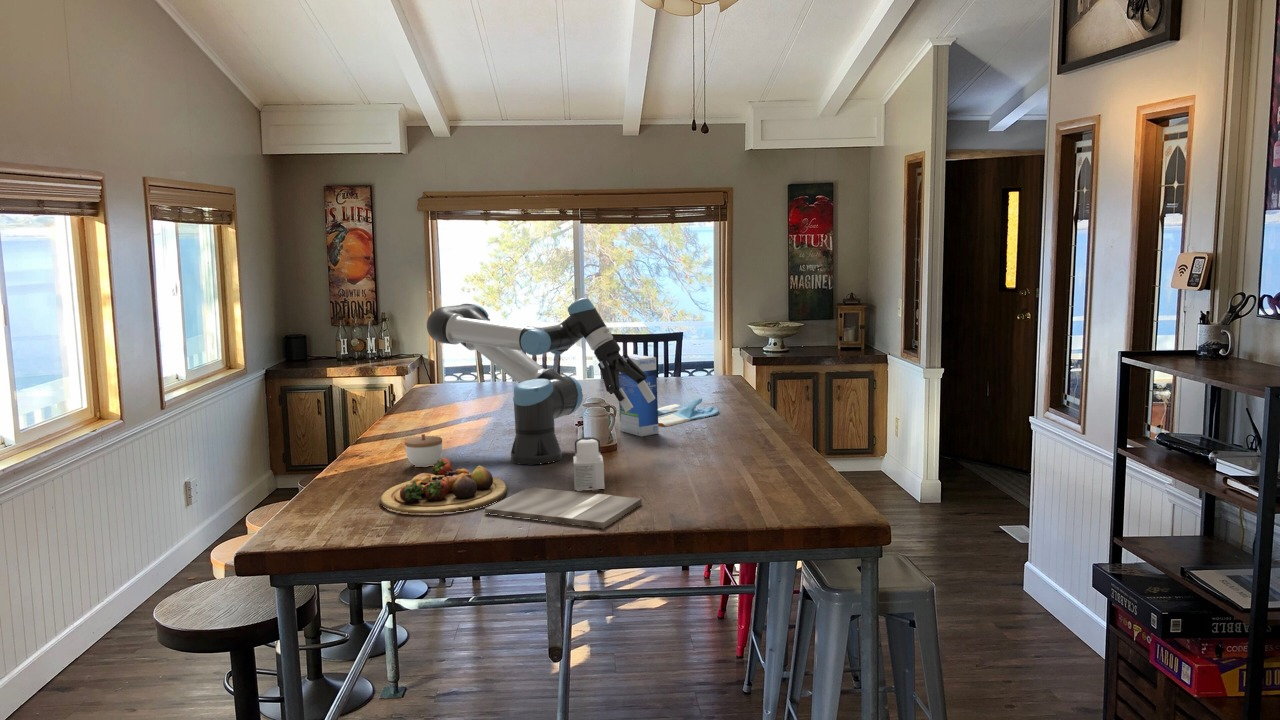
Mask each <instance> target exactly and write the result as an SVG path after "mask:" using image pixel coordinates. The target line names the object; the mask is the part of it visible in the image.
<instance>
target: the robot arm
mask: <svg viewBox="0 0 1280 720" xmlns="http://www.w3.org/2000/svg"><path fill="white" fill-rule="evenodd" d="M567 312H568V314H569V316H568V317H567V318H566V319H565V320H564V321H562V322H561V323H559V324H555V325H550V326H543V327H537V326H530V325H521V324H515V323H514V324H513V323H506V322H499V321H492V320H491V319H490V318H489V313H488V312H487V311H486V310H485V309H484V308H483V307H482V306H481V305H479V304H475V303H463V304H459V305H458V304H457V305H450V306H449V305H447V306H441V307H437V308H436V309H434V310H433V311H432V312H431V313H430V314H429V316H428V317H427V319H426V330H427V333H428V335H429V336H430V338H432V340H433V341H435V342H437V343H439V344H448V345H459V344H460V345H462V346H464V347H465V348H466V349H467V350H469V351H477V352H478V353H480V354H481V355H482V356H484V357H485V358H487V360H489V361H490V362H491V363H492V364H493V365H495V366H496V367H498V368H499V369H500V370H501V371H502V372H504V373H506V375H508V376H509V377H510V378H511V379H513V380H514V381H515V382H517V383H518V384H516V385H515V387H514V388H513V397H512V400H513V409H514V410H513V411H514V428H515V434H514V435H515V436H514V440H513V443H512V447H511V450H510V461H511V462H512V461H513V462H515V463H514V464H516V463H520V464H519V465H522V464H540V463H548V462H552V463H554V462H553V461H556V462H558V461H560V460H562V457H563V456H562V454H563V453H562V449H561V447H560V443H559V440H558V438H557V435H556V431H555V419H559V418H561V417H566V416H569V415H571V414H573V413H575V412H576V411H577V410H578V409H579V408H580V407H581V405H582V403H583V397H584V395H583V389H582V385H581V384H580V382H579V381H578V380H577V379H576V378H574V377H572V376H568V375H565V376H562V375H561V374H560V373H559V372H557V370H555V369H554V368H552V367H551V368H544V367H543V366H542V365H540V364H539V363H538V362H537V361H535V360H534V359H533V358H531V357H530V356H541V355H543V354H548V353H551V354H552V355H553V354H554V355H556V356H560V355H562V354H563V353H564V352H566V351H567V352H568V350H569V349H570V348H572V346H574V345H575V344H576V343H577V342H579V341H580V340H581V339H582V338H584V339H585V342H586V343H587V344H588V346H589V348H590V350H591V351H593V354H594V355H595V358H596V359H597V360H598V363H597V366H598V368H599V370H600V372H601V375H602V379H603V382H604V383H603V384H604V386H605V390H606V392H607V393H609V394H610V395H613V394H614V396H615V398H616V399H617V401H618V403H619V402H620V404H621V405H622V407H623V409H624V410H625V412H627V411H629V410H630V409H631V408H633V405H632V404H631V402H630V401H629V399H628V397H627V396H626V394H625V393H624V391H623V389H622V388H620V389H619V379H618V372H621V373H624V374H626V375H627V376H629V377H630V378H631V379H633V380H634V381H635V382H637V383H638V385H637V386H638V388H639V389H640V391H641V392H642V394H643V396H644V397H645V399H646V400H647V402H648V403H650V402H651V401H653V400H654V399H655V396H654V395H653V393H652V392H651V390H650V388H649V387H648V385H647V384H646V382H645V379H647V375H646V374H645V373H644V372H643V371H642V370H641V369H640V368H639V367H638V366H637V365H636V364H635V363H634V362H633V361H632V360H631V359H630V358H629V357H628V355H629V354H628V353H624V354H623V355H621V354H620V351H621V347H620V346H619V343H618V342H617V341H616V339H614V336H613V334H612V332H611V331H610V329H609V328H608V327H607V325H606V324H605V321H604V320H603V318H602V317H601V315H600V314H599V311H598V310H597V307H595V305H594V304H593V303H592V301H591V300H590V298H589V297H581V298H579V299H577V300H575V301H573V302H572V303H570V305H569V306H568V307H567ZM529 355H530V356H529ZM559 459H560V460H559ZM557 460H558V461H557ZM513 462H512V463H513ZM548 464H549V463H548ZM540 465H541V464H540Z"/></svg>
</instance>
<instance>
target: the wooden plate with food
mask: <svg viewBox="0 0 1280 720" xmlns="http://www.w3.org/2000/svg"><path fill="white" fill-rule="evenodd" d="M433 465H434V466H433V467H431V469H430V470H431V473H426V472H423V473H419V474H417V475H415V476H414V477H413V478H411V480H407V481H405V482H403V483H402V482H401V483H399V484H397V485H394V486H392V487H390V488H389V489H387V490H385V492H383V494H382V495H381V496H380V500H379V502H381V503H380V505H381V504H382V505H383V506H384V507H386V508H389V509H392V510H396V511H401V512H408V513H444V512H456V511H464V510H469V509H475V508H480V507H483V506H486V505H489V504H492V503H494V502H496V501H498V500H500V499H501V498H502V499H503V498H505V496H506V495H507V492H508V487H507V484H506V483H505V482H504V480H502V479H500V478H498V477H495V476H493V475H492V472H490V470H489V469H488V468H486V467H485V466H482V465H478V466H476V467H475V469H474V470H473V471H472V472H470V471H469V469H466V468H457V469H456V470H454V471H453V468H452V462H451V461H450V460H449V459H447V458H444V457H443V458H440V459H439V460H438V461H437V463H436V464H434V463H433ZM502 499H501V500H502ZM501 500H500V501H501ZM498 502H499V501H498ZM382 505H381V506H382ZM492 505H493V504H492Z"/></svg>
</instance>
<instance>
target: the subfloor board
mask: <svg viewBox="0 0 1280 720" xmlns="http://www.w3.org/2000/svg"><path fill="white" fill-rule="evenodd" d="M641 504H642V498H639V497H638V498H637V497H628V496H620V495H612V494H604V493H591V492H583V491H571V490H570V491H569V490H560V489H550V488H542V487H535V486H534V487H532V486H529V487H527V488H525V489H523V490H521V491H518V492H517V493H514V494H512V495H511V496H509V497H506V498H504V499H501V500H500V501H498V502H497V503H495V504H492V505H490V506H487V507H485V508H484V514H485V513H488V514H489V513H490V514H497V515H504V516H512V517H520V518H530V519H538V520H545V521H546V520H547V521H551V522H558V523H564V524H563V525H567V524H574V525H573V526H575V525H583V526H590V527H589V528H591V527H595V528H594V529H599V528H601V529H600V530H604V529H606V528H608V527H609V526H611V525H612V524H614V523H615V522H617V521H619V520H620V519H621V518H623V517H624V515H625V514H626V515H628V514H629V513H630V511H631V510H632V511H634V510H635V508H636V507H637V508H639V507H640V506H642V505H643V504H642V505H641ZM638 506H639V507H638ZM637 508H636V509H637ZM633 509H634V510H633ZM632 511H631V512H632ZM628 512H629V513H628ZM627 513H628V514H627ZM626 515H625V516H626ZM622 516H623V517H622ZM619 518H620V519H619ZM616 520H617V521H616ZM613 522H614V523H613ZM558 523H557V524H558ZM583 526H582V527H583ZM605 527H606V528H605Z"/></svg>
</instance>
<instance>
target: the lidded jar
mask: <svg viewBox="0 0 1280 720" xmlns="http://www.w3.org/2000/svg"><path fill="white" fill-rule="evenodd" d="M404 445H405V453H406V457H407V460H408V461H409V462H410V463H411V464H412V465H417V466H426V465H432V464H433V463H434V464H435V463H436V464H437V461H438V460H441V457H442V453H443V452H442V451H443V438H442V437H440V436H436V435H426V434H425V433H423V434H422V433H421V436H416V437H410V438H408V439H406V440H405V441H404Z"/></svg>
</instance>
